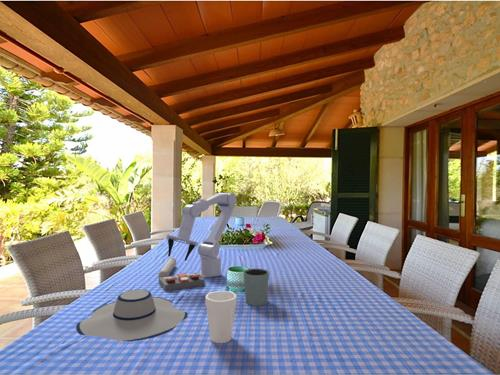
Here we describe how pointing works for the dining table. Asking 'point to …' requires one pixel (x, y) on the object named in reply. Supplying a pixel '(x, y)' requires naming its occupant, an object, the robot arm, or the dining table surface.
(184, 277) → the rocker
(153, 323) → the sun hat
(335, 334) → the dining table surface
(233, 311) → the foam cup
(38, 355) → the dining table surface
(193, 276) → the rocker
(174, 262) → the tube
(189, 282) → the switch panel
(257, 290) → the grey-green pot
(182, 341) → the dining table surface
